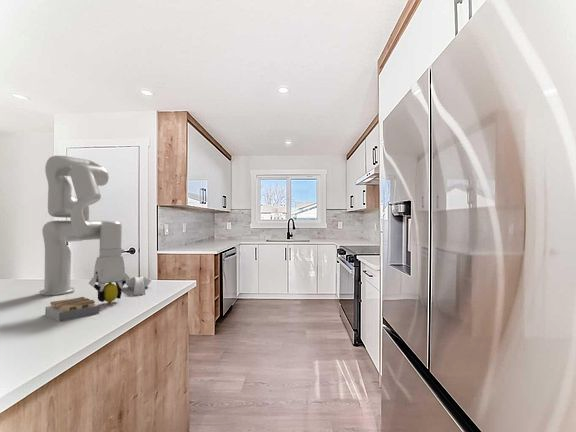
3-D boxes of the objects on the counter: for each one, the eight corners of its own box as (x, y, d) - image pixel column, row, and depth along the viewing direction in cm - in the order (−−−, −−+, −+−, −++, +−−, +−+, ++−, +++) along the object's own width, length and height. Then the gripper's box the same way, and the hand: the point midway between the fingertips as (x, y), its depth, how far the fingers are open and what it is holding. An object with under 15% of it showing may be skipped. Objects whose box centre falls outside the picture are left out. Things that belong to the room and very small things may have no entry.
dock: (45, 314, 114) (45, 307, 114) (83, 307, 124) (83, 300, 124) (60, 321, 107) (60, 313, 107) (99, 313, 117) (99, 305, 117)
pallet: (50, 307, 114) (50, 301, 114) (81, 301, 122) (82, 296, 123) (62, 312, 109) (62, 306, 109) (94, 306, 117) (94, 300, 117)
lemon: (110, 305, 127) (111, 284, 127) (98, 304, 128) (98, 283, 128) (120, 301, 133) (121, 281, 133) (108, 301, 134) (108, 280, 134)
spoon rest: (124, 286, 163) (124, 271, 163) (150, 284, 169) (150, 270, 169) (125, 296, 142) (125, 280, 142) (154, 294, 147) (155, 278, 147)
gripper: (126, 250, 140) (126, 294, 140) (82, 254, 126) (81, 302, 126) (136, 252, 135) (136, 297, 135) (91, 255, 122) (90, 305, 121)
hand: (109, 299), depth 131 cm, fingers closed on lemon, 5 cm apart
